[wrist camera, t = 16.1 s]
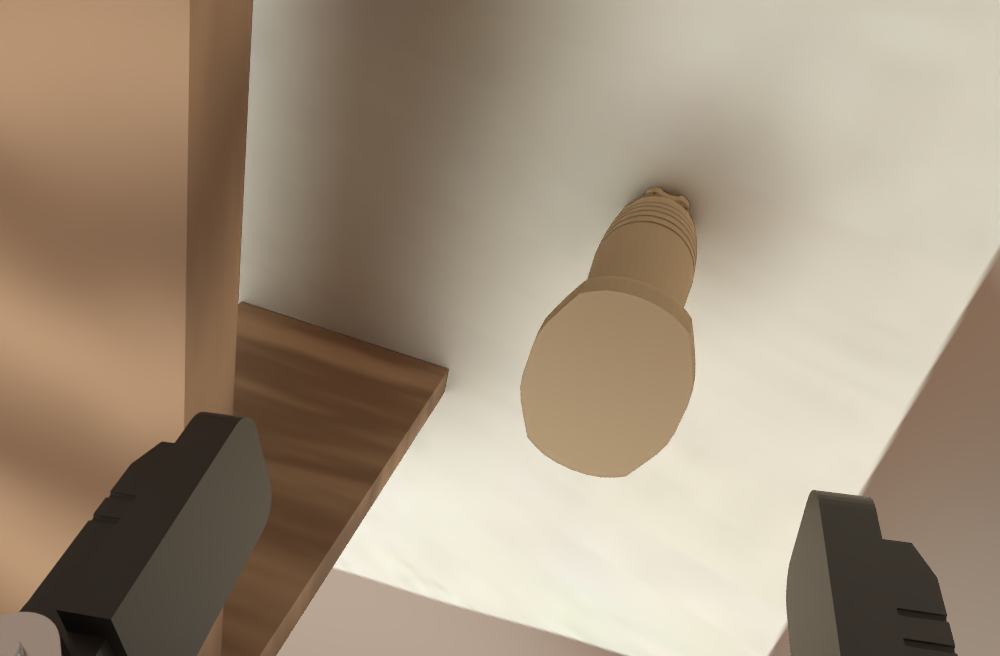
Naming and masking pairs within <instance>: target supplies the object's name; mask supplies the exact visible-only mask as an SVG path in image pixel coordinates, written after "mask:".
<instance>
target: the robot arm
mask: <svg viewBox="0 0 1000 656" xmlns="http://www.w3.org/2000/svg"><path fill="white" fill-rule="evenodd" d="M271 497H272V493H271V485H270V481H269V477H268V473H267V469H266V464H265V460H264V456H263V452H262V448H261V444H260V440H259V435H258V431H257V427H256V424H255V422H254V421H253V419H251V418H250V417H243V416H235V415H227V414H219V413H211V412H199V413H198V414H196V415H195V416H194V417H193V418H192V419H191V421H190V422H189V424H188V425H187V426H186V428H185V429H184V431H183V432H182V433H181V435H180V436H179V438H178V439H177V440H176V442H175V443H170V442H163V441H162V442H160V443H159V444H157V445H156V446H155V447H153V448H152V449H151V450H149V451H148V452H147V453H145V454H144V455H142V456H141V457H140V458H138V459H137V460H136V461H134V462H133V463H131V464H130V466H129V467H128V468H127V470H126V471H125V472H124V474H123V475H122V476H121V478H120V479H119V480H118V482H117V483H116V484H115V486H114V487H113V488H112V490H111V491H110V496H109V498H108V497H106V498H105V499H104V500H103V502H102V503H101V504H100V506H99V507H98V508H97V510H96V511H95V512H94V514H93V519H92V520H88V522H87V523H86V524H85V526H84V527H83V528H82V530H81V531H80V532H79V534H78V535H77V536H76V538H75V539H74V540H73V542H72V543H71V544H70V546H69V547H68V548H67V550H66V551H65V552H64V554H63V555H62V556H61V558H60V559H59V560H58V562H57V563H56V564H55V566H54V567H53V568H52V570H51V571H50V572H49V574H48V575H47V576H46V578H45V579H44V580H43V582H42V583H41V584H40V586H39V587H38V588H37V590H36V591H35V592H34V594H33V595H32V596H31V598H30V599H29V600H28V602H27V603H26V604H25V605H24V606H23V608H22V609H21V610H20V611H19V612H15V613H9V614H5V615H1V616H0V656H197V655H198V653H199V651H200V649H201V647H202V645H203V643H204V641H205V640H206V638H207V636H208V634H209V632H210V630H211V628H212V626H213V624H214V623H215V621H216V619H217V617H218V615H219V613H220V611H221V609H222V608H223V606H224V604H225V602H226V600H227V598H228V596H229V594H230V592H231V591H232V589H233V587H234V585H235V583H236V581H237V579H238V577H239V575H240V574H241V572H242V570H243V568H244V566H245V564H246V562H247V560H248V559H249V557H250V555H251V553H252V551H253V549H254V547H255V545H256V543H257V542H258V540H259V538H260V536H261V534H262V532H263V530H264V528H265V526H266V523H267V520H268V517H269V513H270V508H271ZM786 606H787V618H788V628H789V629H788V630H789V641H790V652H791V656H958V655H957V654H955V651H954V648H955V644H954V640H953V636H952V632H951V629H950V625H949V623H948V622H947V621H946V616H947V614H946V610H945V606H944V602H943V599H942V594H941V591H940V587H939V583H938V579H937V577H936V576H935V574H934V573H933V572H932V570H931V569H930V567H929V566H928V565H927V563H926V562H925V561H924V559H923V558H922V557H921V555H920V554H919V553H918V551H917V550H916V548H915V547H914V546H913V544H912V543H907V542H900V541H892V540H884V539H882V536H881V531H880V526H879V522H878V517H877V513H876V508H875V504H874V502H873V500H872V499H871V498H870V497H864V496H856V495H848V494H840V493H832V492H824V491H816V490H812V491H811V493H810V495H809V497H808V500H807V503H806V507H805V510H804V514H803V518H802V521H801V525H800V528H799V532H798V535H797V539H796V542H795V546H794V549H793V553H792V556H791V560H790V564H789V569H788V577H787V589H786Z"/></svg>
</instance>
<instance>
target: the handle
mask: <svg viewBox="0 0 1000 656" xmlns="http://www.w3.org/2000/svg"><path fill="white" fill-rule="evenodd" d="M689 210H690V205H689V202H688V201H687V199H686V198H685V197H684V196H673V195H670V194H667V193H665V192H664V191H662V190H661V188H659V187H654V188H650V189H649V190H648V191H647V192H646V193H645V195H644V196H643V197H642V198H641V199H638V200H636V201H634V202H633V203H631V204H628V205H627V206H625V208H624V209H623V210H622V211H621V213H620V214H619V215H618V216H617V217H616V218H615V220H614V221H613V223H612V224H611V226H610V227H609V229H608V230H607V232H606V233H605V235H604V237H603V239H602V241H601V243H600V245H599V247H598V249H597V251H596V254H595V256H594V260H593V263H592V266H591V269H590V273H589V276H588V279H587V280H586V281H585V282H583V283H582V284H581V285H580V286H578V287H577V288H576V289H575V290H574V291H573V292H572V293H570V294H569V295H568V296H567V297H566V298H565V299H564V300H563V301H562V302H561V303H560V304H559V305H558V306H557V307H556V308H555V309H554V310H553V311H552V312H551V313H550V314H549V315H548V316H547V318H546V319H545V321H544V322H543V324H542V326H541V328H540V330H539V332H538V334H537V336H536V339H535V341H534V344H533V346H532V349H531V352H530V355H529V358H528V360H527V363H526V366H525V369H524V372H523V376H522V381H521V386H520V390H521V404H522V410H523V416H524V421H525V426H526V432H527V437H528V438H529V439H530V441H531V442H532V443H533V444H534V445H535V446H536V447H537V448H538V449H539V450H540V451H541V452H542V453H543V454H544V455H546V456H547V457H549V458H550V459H552V460H553V461H555V462H557V463H559V464H561V465H563V466H565V467H567V468H569V469H571V470H574V471H577V472H580V473H583V474H587V475H592V476H597V477H623V476H627V475H628V474H630V473H631V472H633V471H634V470H635V469H637V468H638V467H640V466H641V465H643V464H644V463H645V462H647V461H648V460H650V459H651V458H652V457H654V456H655V455H656V454H658V453H659V452H660V451H661V450H662V449H663V448H664V447H665V446H666V445H667V444H668V442H669V441H670V439H671V438H672V436H673V435H674V433H675V431H676V429H677V427H678V425H679V423H680V421H681V418H682V416H683V414H684V412H685V410H686V408H687V406H688V403H689V400H690V397H691V394H692V390H693V385H694V380H695V349H694V336H693V326H692V319H691V317H690V316H689V314H688V313H687V312H686V310H685V309H684V306H685V303H686V300H687V297H688V294H689V291H690V288H691V286H692V283H693V277H694V271H695V265H696V257H697V238H696V231H695V227H694V224H693V221H692V219H691V217H690V215H689Z"/></svg>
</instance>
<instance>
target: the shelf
mask: <svg viewBox="0 0 1000 656" xmlns="http://www.w3.org/2000/svg"><path fill="white" fill-rule="evenodd" d="M252 11H253V0H0V616H1V615H5V614H9V613H15V612H19V611H20V610H21V609H22V608H23V606H24V605H25V604H26V603H27V602H28V600H29V599H30V598H31V596H32V595H33V594H34V592H35V591H36V590H37V588H38V587H39V586H40V584H41V583H42V582H43V580H44V579H45V578H46V576H47V575H48V574H49V572H50V571H51V570H52V568H53V567H54V566H55V564H56V563H57V562H58V560H59V559H60V558H61V556H62V555H63V554H64V552H65V551H66V550H67V548H68V547H69V546H70V544H71V543H72V542H73V540H74V539H75V538H76V536H77V535H78V534H79V532H80V531H81V530H82V528H83V527H84V526H85V524H86V523H87V522H88V520H92V519H93V514H94V512H95V511H96V510H97V508H98V507H99V506H100V504H101V503H102V502H103V500H104V499H105V498H106V497H108V498H109V496H110V491H111V490H112V488H113V487H114V486H115V484H116V483H117V482H118V480H119V479H120V478H121V476H122V475H123V474H124V472H125V471H126V470H127V468H128V467H129V466H130V464H131V463H133V462H134V461H136V460H137V459H138V458H140V457H141V456H142V455H144V454H145V453H147V452H148V451H149V450H151V449H152V448H153V447H155V446H156V445H157V444H159V443H160V442H162V441H163V442H170V443H175V442H176V440H177V439H178V438H179V436H180V435H181V433H182V432H183V431H184V429H185V428H186V426H187V425H188V424H189V422H190V421H191V419H192V418H193V417H194V416H195V415H196V414H198V413H199V412H211V413H219V414H227V415H235V416H243V417H250V418H251V419H253V421H254V422H255V424H256V427H257V431H258V435H259V440H260V444H261V448H262V452H263V456H264V460H265V464H266V469H267V473H268V477H269V481H270V485H271V493H272V497H271V508H270V513H269V517H268V520H267V523H266V526H265V528H264V530H263V532H262V534H261V536H260V538H259V540H258V542H257V543H256V545H255V547H254V549H253V551H252V553H251V555H250V557H249V559H248V560H247V562H246V564H245V566H244V568H243V570H242V572H241V574H240V575H239V577H238V579H237V581H236V583H235V585H234V587H233V589H232V591H231V592H230V594H229V596H228V598H227V600H226V602H225V604H224V606H223V608H222V609H221V611H220V613H219V615H218V617H217V619H216V621H215V623H214V624H213V626H212V628H211V630H210V632H209V634H208V636H207V638H206V640H205V641H204V643H203V645H202V647H201V649H200V651H199V653H198V655H197V656H276V655H277V653H278V652H279V650H280V649H281V647H282V645H283V644H284V642H285V641H286V639H287V638H288V636H289V634H290V633H291V631H292V630H293V628H294V627H295V625H296V624H297V622H298V620H299V619H300V617H301V616H302V614H303V613H304V611H305V610H306V608H307V606H308V605H309V603H310V602H311V600H312V598H313V597H314V595H315V594H316V592H317V591H318V589H319V587H320V586H321V584H322V583H323V581H324V580H325V578H326V577H327V575H328V573H329V572H330V570H331V569H332V567H333V566H334V564H335V563H336V561H337V559H338V558H339V556H340V555H341V553H342V552H343V550H344V548H345V547H346V545H347V544H348V542H349V541H350V539H351V538H352V536H353V534H354V533H355V531H356V530H357V528H358V527H359V525H360V523H361V522H362V520H363V519H364V517H365V516H366V514H367V512H368V511H369V509H370V508H371V506H372V505H373V503H374V502H375V500H376V498H377V497H378V495H379V494H380V492H381V491H382V489H383V487H384V486H385V484H386V483H387V481H388V480H389V478H390V477H391V475H392V473H393V472H394V470H395V469H396V467H397V466H398V464H399V462H400V461H401V459H402V458H403V456H404V455H405V453H406V451H407V450H408V448H409V447H410V445H411V444H412V442H413V441H414V439H415V437H416V436H417V434H418V433H419V431H420V430H421V428H422V426H423V425H424V423H425V422H426V420H427V419H428V417H429V415H430V414H431V412H432V411H433V409H434V408H435V406H436V405H437V403H438V401H439V400H440V398H441V397H442V395H443V394H444V391H445V386H446V381H447V376H448V371H449V369H446V368H443V367H440V366H437V365H434V364H431V363H428V362H425V361H422V360H419V359H416V358H412V357H409V356H406V355H403V354H400V353H397V352H394V351H391V350H388V349H385V348H382V347H379V346H376V345H373V344H370V343H366V342H363V341H360V340H357V339H354V338H351V337H348V336H345V335H342V334H339V333H336V332H333V331H330V330H327V329H324V328H321V327H317V326H314V325H311V324H308V323H305V322H302V321H299V320H296V319H293V318H290V317H287V316H284V315H281V314H278V313H275V312H272V311H268V310H265V309H262V308H259V307H256V306H253V305H250V304H247V303H244V302H241V303H239V304H238V297H239V277H240V256H241V236H242V215H243V195H244V174H245V154H246V133H247V113H248V92H249V72H250V52H251V31H252Z"/></svg>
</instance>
